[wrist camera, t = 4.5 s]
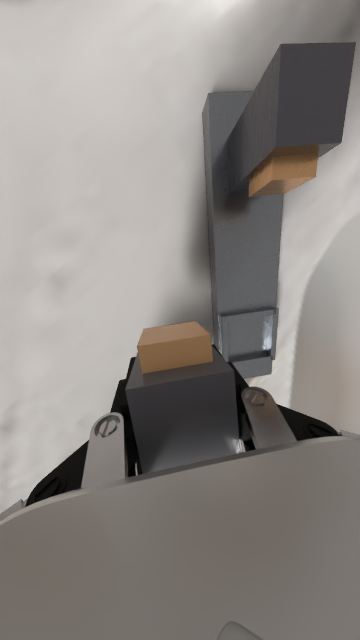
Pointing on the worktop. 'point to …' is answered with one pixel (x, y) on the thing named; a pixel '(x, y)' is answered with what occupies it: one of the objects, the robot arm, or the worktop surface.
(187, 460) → the dark grey block
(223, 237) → the rail
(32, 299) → the worktop surface
